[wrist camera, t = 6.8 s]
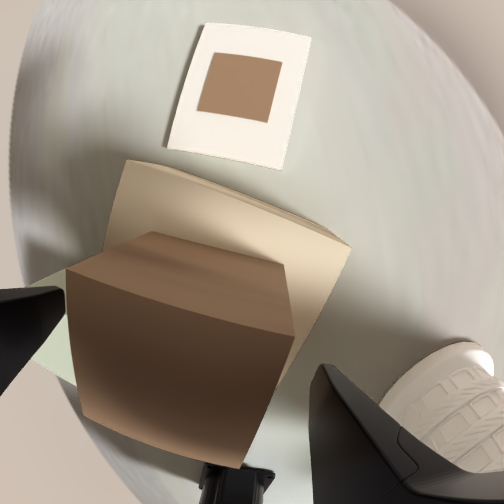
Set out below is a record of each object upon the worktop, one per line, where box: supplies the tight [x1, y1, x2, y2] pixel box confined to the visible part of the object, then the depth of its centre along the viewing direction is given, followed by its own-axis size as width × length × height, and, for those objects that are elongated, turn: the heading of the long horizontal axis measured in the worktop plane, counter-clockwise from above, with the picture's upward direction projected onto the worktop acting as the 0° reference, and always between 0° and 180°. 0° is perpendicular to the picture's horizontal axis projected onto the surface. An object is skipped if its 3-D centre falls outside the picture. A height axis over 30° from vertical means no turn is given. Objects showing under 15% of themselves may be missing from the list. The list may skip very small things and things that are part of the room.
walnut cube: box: [66, 231, 295, 469], centre depth 8 cm, size 5×5×5 cm
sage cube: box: [25, 267, 77, 386], centre depth 14 cm, size 5×5×5 cm
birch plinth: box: [102, 160, 352, 390], centre depth 13 cm, size 9×9×5 cm
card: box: [167, 23, 312, 171], centre depth 12 cm, size 8×6×1 cm
